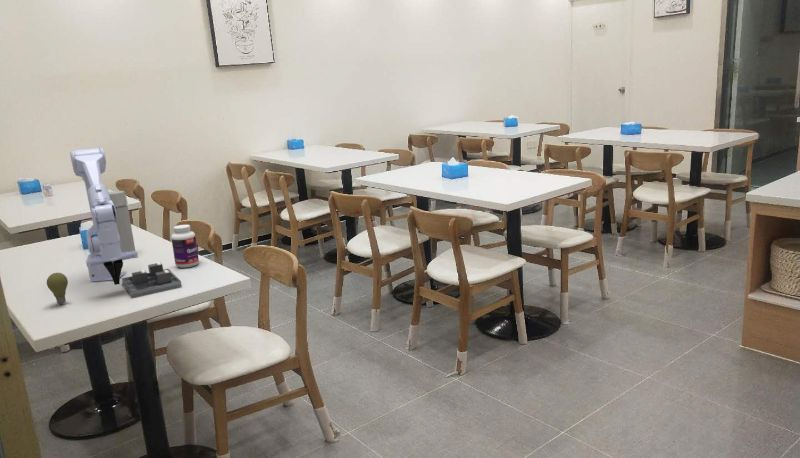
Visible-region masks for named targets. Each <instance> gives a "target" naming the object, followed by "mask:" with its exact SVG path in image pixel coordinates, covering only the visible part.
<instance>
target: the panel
mask: <svg viewBox="0 0 800 458" xmlns="http://www.w3.org/2000/svg"><path fill="white" fill-rule="evenodd" d="M164 270H168V271H169V272H170V275H171V281H172V282H171V283H167V284H162V285H157V281H156V276H153V277H150V274H149V272H147V278H148V283H143V284H139V285H134V283H133V277H132V275H131V276H127V277H126V276H125V277H120V279H121V284H122V286H123V287H124V288H125V290H126V291H127V293H128V295H129V296H130V297H131V299H134V298H138V297H139V298H140V297H142V296H148V295H152V294H157V293H161V292H165V291H169V290H174V289H179V288H182V281H181V280H180V279H179V277H178V276H176V274H175V273H173V272H172V270H170V268H166V269H164V268H163V271H164Z"/></svg>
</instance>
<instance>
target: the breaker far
mask: <svg viewBox="0 0 800 458" xmlns="http://www.w3.org/2000/svg"><path fill="white" fill-rule="evenodd" d="M163 265H164V264H163V263H162V262H160V261H158V262H155V263H153V264H152V263H151V264H148V265H147V267H148V273H149V274H150V277H153V276H156V275H155V273H157V272H162V271H163V270H164V266H163Z"/></svg>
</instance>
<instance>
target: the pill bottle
mask: <svg viewBox="0 0 800 458" xmlns="http://www.w3.org/2000/svg"><path fill="white" fill-rule="evenodd" d="M173 232H174V233H172V235H171V244H172V245H171V247H172V253H173V258H174V264H175V267H177V268H179V269H187V268H193V267H195V266H198V264H199V262H200V259H199V251H198V245H197V238H196V237H197V236H196V233H195V232H194V231H192V230H191V225H190V224H179V225H176V226H174V227H173Z"/></svg>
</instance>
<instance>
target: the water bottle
mask: <svg viewBox="0 0 800 458" xmlns="http://www.w3.org/2000/svg"><path fill="white" fill-rule="evenodd" d="M108 192H109V195H110V199H111V201H112V202H113V204H114V206H115V209H116V214H117V221H116V220H115V217H114V221H115V222H116V225H117V230H118V233H119V236H120V241H121V253H122V252H131V251H136V247H135V239H134V235H133V229H132V223H131V216H130V212H129V206H128V204H129V202H128V199H127V195H126V192H125V191H124V190H114V191H108Z"/></svg>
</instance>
